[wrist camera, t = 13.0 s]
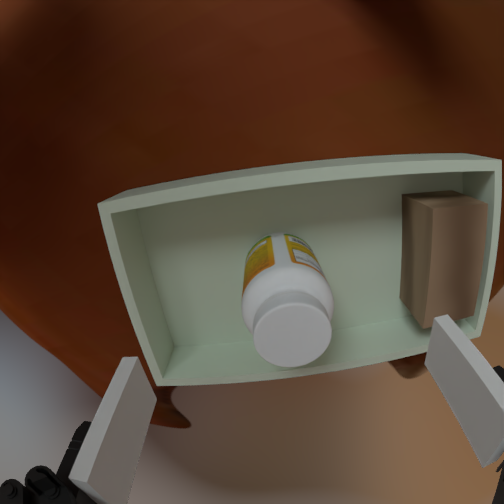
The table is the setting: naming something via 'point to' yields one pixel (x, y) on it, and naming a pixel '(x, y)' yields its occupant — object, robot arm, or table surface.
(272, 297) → the supplement bottle
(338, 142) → the table surface
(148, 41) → the table surface
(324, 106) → the table surface
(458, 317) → the walnut block
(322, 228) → the tote
